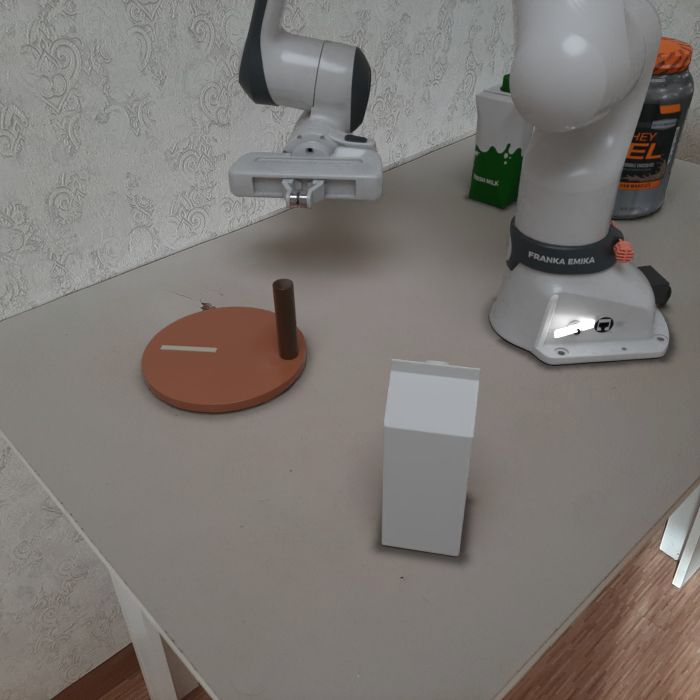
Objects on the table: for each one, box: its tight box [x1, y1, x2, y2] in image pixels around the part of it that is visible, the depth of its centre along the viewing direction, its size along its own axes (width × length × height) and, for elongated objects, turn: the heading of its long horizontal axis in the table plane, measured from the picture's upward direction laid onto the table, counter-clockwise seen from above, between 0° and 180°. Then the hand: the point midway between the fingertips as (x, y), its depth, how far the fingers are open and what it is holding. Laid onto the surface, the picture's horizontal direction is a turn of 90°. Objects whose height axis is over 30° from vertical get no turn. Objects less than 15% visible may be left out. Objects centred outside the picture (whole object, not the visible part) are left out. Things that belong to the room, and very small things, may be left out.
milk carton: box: [381, 358, 481, 557], centre depth 62 cm, size 7×7×19 cm
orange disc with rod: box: [140, 278, 307, 413], centre depth 85 cm, size 20×20×11 cm
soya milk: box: [468, 73, 534, 209], centre depth 120 cm, size 9×9×20 cm
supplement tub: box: [611, 36, 695, 220], centre depth 116 cm, size 16×16×26 cm
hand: (298, 202), depth 88 cm, fingers closed
